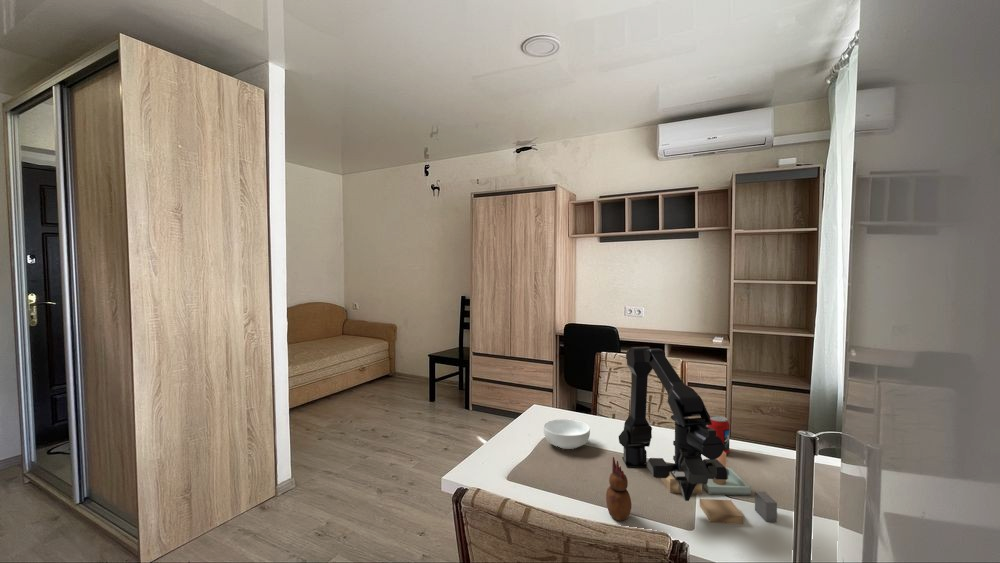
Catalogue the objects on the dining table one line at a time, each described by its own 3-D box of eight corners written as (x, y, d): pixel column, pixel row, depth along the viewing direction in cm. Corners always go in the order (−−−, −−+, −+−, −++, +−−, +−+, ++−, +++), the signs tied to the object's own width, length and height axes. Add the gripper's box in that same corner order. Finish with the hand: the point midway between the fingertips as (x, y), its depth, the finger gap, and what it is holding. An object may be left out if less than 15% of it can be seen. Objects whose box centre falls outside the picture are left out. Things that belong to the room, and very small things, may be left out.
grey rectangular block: (766, 521, 102) (766, 502, 102) (754, 510, 107) (755, 491, 107) (776, 522, 101) (776, 502, 101) (764, 510, 106) (765, 491, 106)
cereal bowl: (596, 442, 150) (596, 423, 150) (580, 459, 136) (580, 439, 136) (554, 432, 159) (554, 415, 159) (535, 448, 145) (535, 429, 145)
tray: (708, 494, 114) (708, 486, 114) (691, 473, 126) (691, 466, 126) (750, 495, 114) (750, 487, 114) (729, 474, 125) (729, 467, 125)
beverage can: (732, 456, 137) (732, 422, 137) (711, 455, 139) (711, 421, 138) (725, 448, 144) (725, 415, 143) (705, 446, 145) (705, 414, 145)
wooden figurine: (603, 509, 108) (603, 454, 107) (623, 508, 108) (623, 453, 108) (612, 525, 101) (612, 466, 100) (634, 523, 101) (634, 465, 101)
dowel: (725, 486, 117) (726, 456, 117) (712, 482, 119) (712, 453, 119) (726, 481, 120) (726, 451, 120) (713, 477, 122) (713, 448, 122)
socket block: (670, 492, 115) (670, 479, 115) (659, 476, 124) (659, 464, 124) (702, 493, 115) (702, 479, 115) (689, 477, 124) (689, 464, 124)
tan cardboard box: (710, 523, 102) (710, 514, 102) (699, 507, 109) (699, 498, 109) (743, 525, 101) (743, 515, 101) (730, 509, 108) (730, 500, 108)
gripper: (660, 455, 97) (660, 517, 98) (739, 456, 96) (739, 520, 97) (646, 436, 109) (646, 492, 109) (717, 437, 107) (717, 494, 108)
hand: (686, 500), depth 105 cm, fingers closed
